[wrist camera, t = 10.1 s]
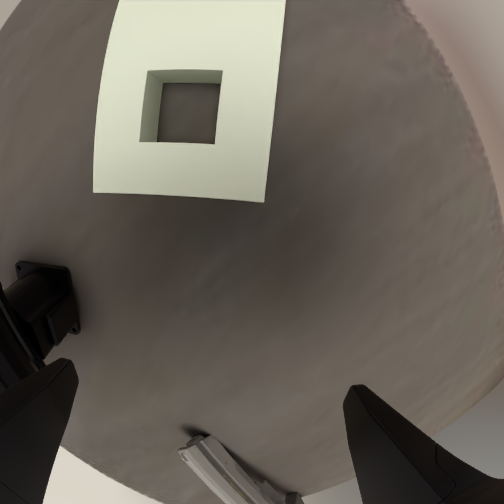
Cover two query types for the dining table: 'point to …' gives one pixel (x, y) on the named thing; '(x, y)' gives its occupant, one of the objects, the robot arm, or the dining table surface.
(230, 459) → the handgun
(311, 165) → the dining table surface
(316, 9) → the dining table surface
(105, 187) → the socket block
